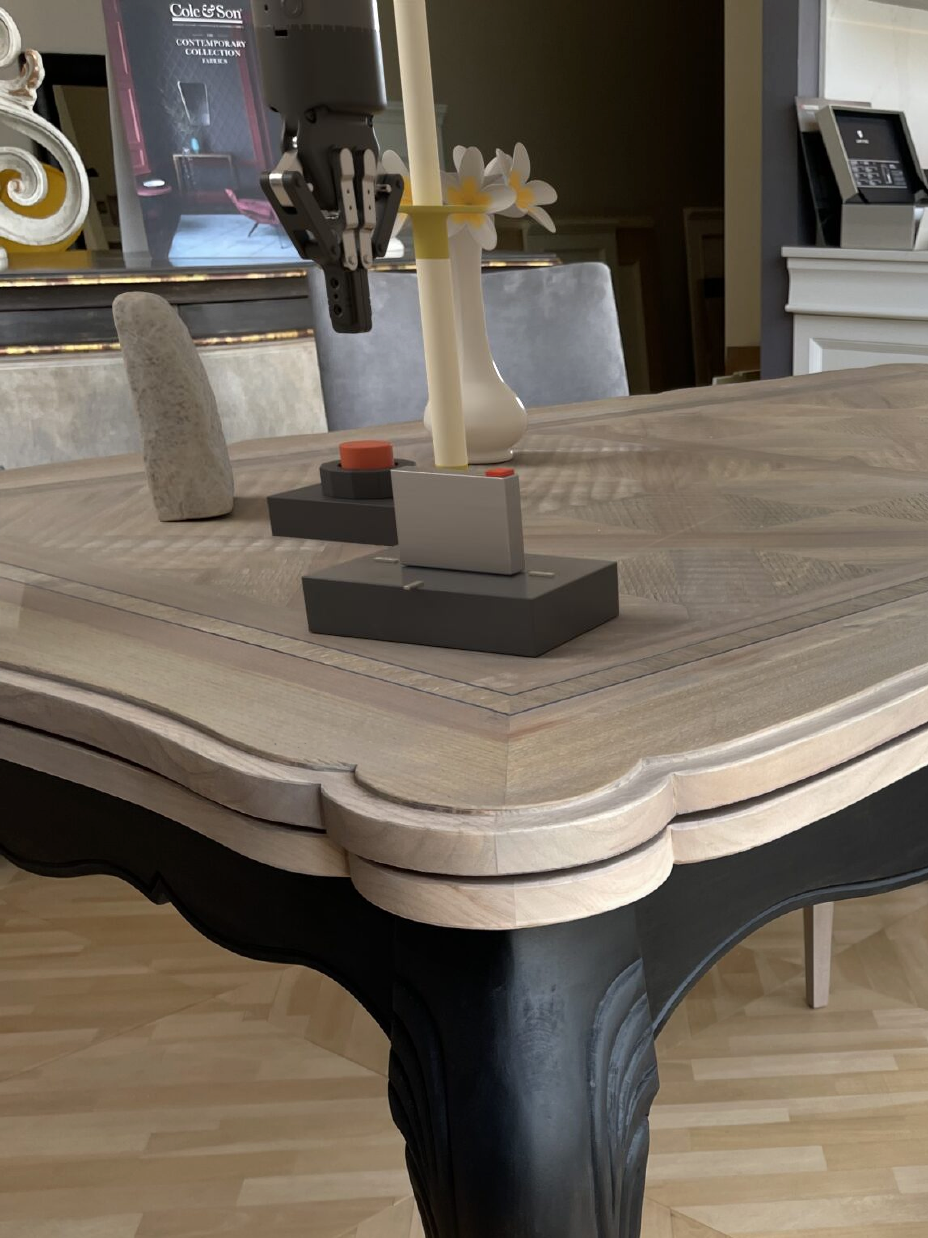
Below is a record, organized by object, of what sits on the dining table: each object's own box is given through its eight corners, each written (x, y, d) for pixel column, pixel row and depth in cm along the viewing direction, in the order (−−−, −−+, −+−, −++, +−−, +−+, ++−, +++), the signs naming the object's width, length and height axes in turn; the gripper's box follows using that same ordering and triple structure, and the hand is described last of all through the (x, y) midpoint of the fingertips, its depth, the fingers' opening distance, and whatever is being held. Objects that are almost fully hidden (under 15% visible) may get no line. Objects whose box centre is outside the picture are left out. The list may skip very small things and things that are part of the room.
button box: (272, 536, 106) (261, 468, 104) (347, 515, 114) (339, 451, 111) (407, 548, 103) (399, 478, 101) (475, 525, 110) (470, 460, 108)
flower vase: (359, 455, 140) (321, 141, 128) (554, 446, 146) (535, 145, 134) (380, 476, 130) (341, 136, 118) (590, 465, 136) (573, 141, 124)
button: (331, 472, 105) (328, 445, 104) (361, 465, 108) (358, 439, 107) (376, 475, 104) (372, 448, 103) (405, 468, 107) (402, 442, 106)
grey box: (400, 565, 84) (389, 464, 81) (416, 559, 85) (405, 460, 83) (511, 575, 82) (503, 473, 79) (526, 569, 83) (518, 468, 80)
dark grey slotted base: (301, 634, 82) (293, 575, 81) (414, 591, 92) (408, 537, 90) (530, 660, 78) (525, 598, 77) (624, 612, 87) (622, 556, 86)
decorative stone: (170, 498, 119) (133, 286, 112) (249, 497, 120) (217, 286, 113) (143, 524, 110) (101, 294, 103) (229, 522, 111) (193, 294, 104)
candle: (395, 488, 124) (334, -74, 106) (519, 486, 125) (479, -70, 107) (384, 510, 115) (315, -99, 97) (517, 508, 117) (473, -94, 99)
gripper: (329, 35, 100) (362, 324, 109) (195, 15, 89) (243, 338, 98) (427, 32, 98) (453, 328, 106) (302, 11, 87) (342, 342, 95)
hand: (352, 332), depth 102 cm, fingers closed
